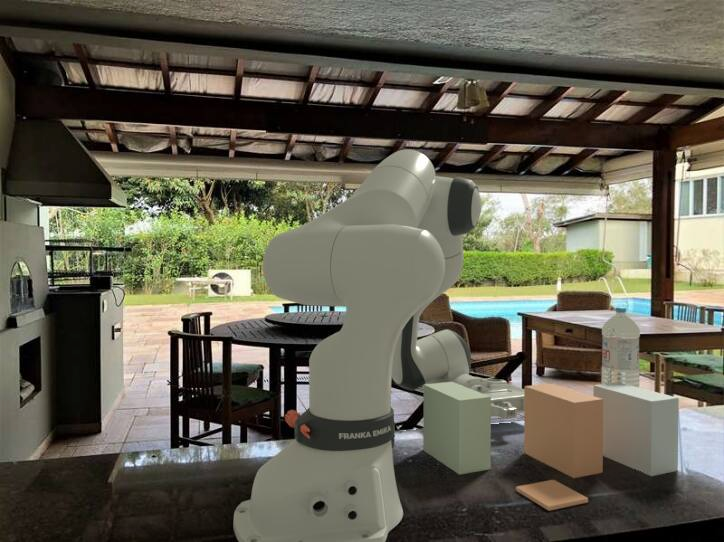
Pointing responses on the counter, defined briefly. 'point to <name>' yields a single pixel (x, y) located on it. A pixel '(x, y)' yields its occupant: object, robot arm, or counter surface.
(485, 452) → the sage block
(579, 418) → the terracotta block
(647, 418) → the blue-grey block
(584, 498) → the tile
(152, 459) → the counter surface
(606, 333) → the water bottle
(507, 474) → the counter surface
